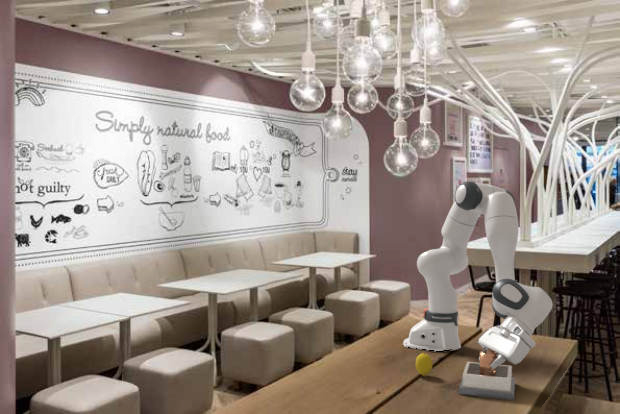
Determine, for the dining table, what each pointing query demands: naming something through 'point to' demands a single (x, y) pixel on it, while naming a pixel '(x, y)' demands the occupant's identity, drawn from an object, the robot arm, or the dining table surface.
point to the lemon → (424, 364)
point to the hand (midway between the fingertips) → (486, 364)
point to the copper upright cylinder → (487, 362)
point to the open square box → (488, 382)
